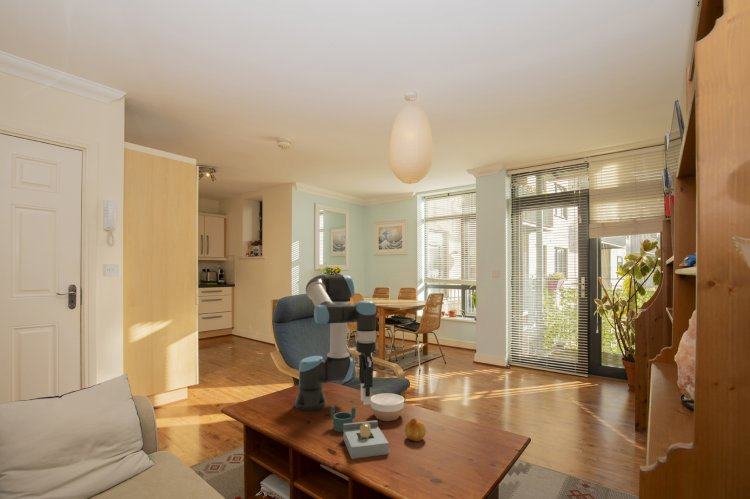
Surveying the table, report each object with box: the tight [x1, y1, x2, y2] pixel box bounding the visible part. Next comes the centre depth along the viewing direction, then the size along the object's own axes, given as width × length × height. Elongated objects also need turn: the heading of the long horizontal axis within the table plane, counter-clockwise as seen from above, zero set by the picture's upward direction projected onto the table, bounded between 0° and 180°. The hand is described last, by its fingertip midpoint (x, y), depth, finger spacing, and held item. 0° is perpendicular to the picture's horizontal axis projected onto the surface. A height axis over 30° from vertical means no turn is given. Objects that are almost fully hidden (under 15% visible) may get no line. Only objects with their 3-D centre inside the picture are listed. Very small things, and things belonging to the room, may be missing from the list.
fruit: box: [404, 418, 427, 442], centre depth 151 cm, size 8×8×8 cm
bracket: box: [330, 405, 356, 433], centre depth 161 cm, size 9×9×9 cm
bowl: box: [370, 392, 405, 422], centre depth 174 cm, size 16×16×8 cm
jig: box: [342, 420, 390, 460], centre depth 145 cm, size 16×14×6 cm
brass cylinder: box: [360, 423, 371, 440], centre depth 144 cm, size 4×4×8 cm
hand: (365, 402), depth 145 cm, fingers open, 4 cm apart
